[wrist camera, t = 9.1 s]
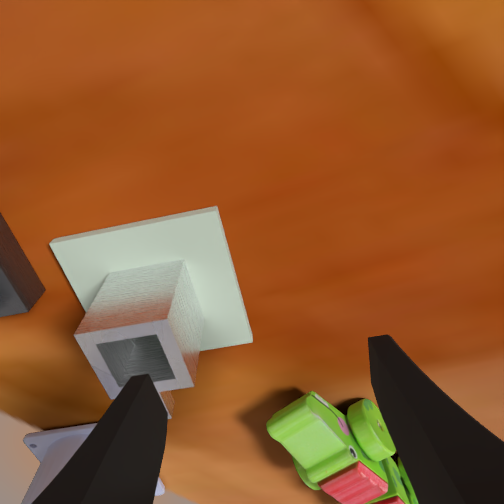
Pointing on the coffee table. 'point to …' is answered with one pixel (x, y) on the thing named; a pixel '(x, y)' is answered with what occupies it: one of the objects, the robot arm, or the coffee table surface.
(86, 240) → the set down mat
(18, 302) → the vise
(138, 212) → the coffee table surface
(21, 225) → the coffee table surface
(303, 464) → the toy crocodile
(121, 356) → the hollow square tube
